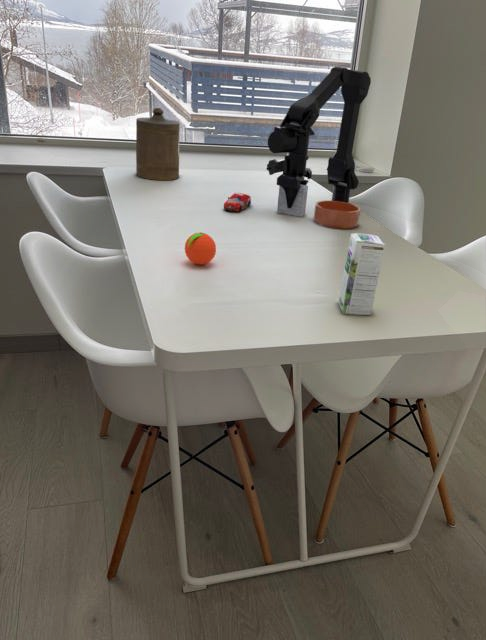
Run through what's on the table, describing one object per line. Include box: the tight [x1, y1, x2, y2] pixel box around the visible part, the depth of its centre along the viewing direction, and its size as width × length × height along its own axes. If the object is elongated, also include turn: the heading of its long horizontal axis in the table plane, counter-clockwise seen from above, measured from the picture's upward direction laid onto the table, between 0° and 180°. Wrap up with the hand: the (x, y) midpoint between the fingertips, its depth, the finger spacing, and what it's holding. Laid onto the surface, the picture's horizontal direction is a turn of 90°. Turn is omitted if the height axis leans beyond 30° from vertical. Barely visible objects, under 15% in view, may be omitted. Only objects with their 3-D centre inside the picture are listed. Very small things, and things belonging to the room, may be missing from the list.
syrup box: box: [338, 233, 386, 316], centre depth 112 cm, size 6×6×14 cm
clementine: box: [184, 231, 217, 266], centre depth 128 cm, size 8×7×7 cm
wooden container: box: [135, 107, 181, 181], centre depth 201 cm, size 15×15×22 cm
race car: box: [223, 192, 252, 213], centre depth 177 cm, size 13×5×4 cm, turn 161°
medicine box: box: [276, 184, 309, 218], centre depth 176 cm, size 8×4×9 cm, turn 71°
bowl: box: [313, 200, 361, 230], centre depth 172 cm, size 13×13×5 cm
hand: (291, 206), depth 177 cm, fingers open, 6 cm apart
